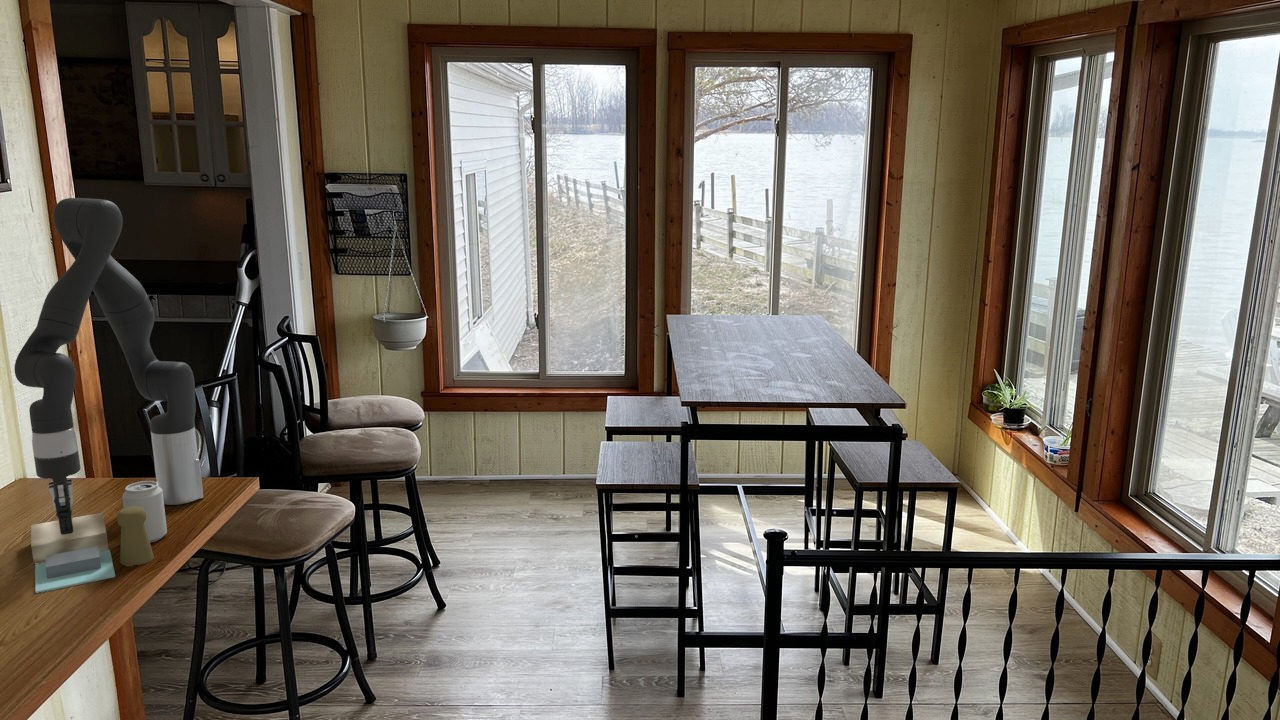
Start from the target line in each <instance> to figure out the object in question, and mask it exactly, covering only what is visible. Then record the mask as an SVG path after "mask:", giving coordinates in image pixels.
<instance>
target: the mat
mask: <svg viewBox="0 0 1280 720" xmlns="http://www.w3.org/2000/svg"><path fill="white" fill-rule="evenodd" d="M99 555H100V563H101V568H99V569H94V570H89V571H84V572H79V573H74V574H69V575H64V576H59V577H54V578H49V579H47V574H46V562H44V563H39V564H35V565H34V576H35V577H34V580H35V583H34V584H35V586H34V588H35V590H34V591H35V594H40V593H39V592H41V593H45V591H46V592H50V591H54V590H59V589H60V590H61V589H64V588H69V587H74V586H79V585H84V584H88V583H93V582H94V583H95V582H97V581H102V580H108V579H112V578H115V577H116V573H115V568H114V565H113V564H114V563H113V558H112V553H111V549H109V550H106V551H101V552H99ZM49 590H50V591H49Z"/></svg>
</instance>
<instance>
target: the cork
mask: <svg viewBox="0 0 1280 720" xmlns="http://www.w3.org/2000/svg"><path fill="white" fill-rule="evenodd" d="M146 517H147V515H146V511H145V510H144V509H143V508H142V507H138V506H134V507H128V508H124V507H123V508H122V509H120V510H119V512H118V513H117V515H116V520H117V523H118V525H119V526H120V551H119V554H120V555H119V559H120V560H119V563H121V564H124V565H129V566H128V567H134V566H133V565H138V566H142V565H145V564H148V563H149V562H152V561H153V560H154V558H155V557H154V554H153V553H154V552H153V550H152V549H153V548H152V546H151V543H150V542H149V538H148V534H147V531H146V527H145V524H144V522H145V520H146ZM121 564H120V565H121ZM131 565H132V566H131Z"/></svg>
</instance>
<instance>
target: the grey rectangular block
mask: <svg viewBox="0 0 1280 720" xmlns="http://www.w3.org/2000/svg"><path fill="white" fill-rule="evenodd" d="M45 557H46V574H47V579H49V578H54V577H59V576H64V575H69V574H74V573H79V572H84V571H89V570H94V569H99V568H101V563H100V555H99V548H98V546H96V547H91V548H85V549H80V550H75V551H70V552H64V553H59V554H54V555H48V556H45Z"/></svg>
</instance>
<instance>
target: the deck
mask: <svg viewBox="0 0 1280 720" xmlns="http://www.w3.org/2000/svg"><path fill="white" fill-rule="evenodd" d="M72 524H73V532H72V533H70V534H64V535H62V534H61V533H60V525H59V519H58V520H52V521H45V522H42V523H41V522H40V523H36V524H31V525H30V532H31V533H30V539H31V540H30V541H31V542H30V543H31V544H30V545H31V554H32V561H33V565H34V564H35V563H41V562H46V557H45V556H48V555H54V554H59V553H64V552H70V551H75V550H80V549H85V548H91V547H96V546H98V548H99V552H101V551H106V550H110V549H109V543H108V533H107V528H106V523H105V519H104V515H103V512H99V513H98V512H97V513H92V514H87V515H81V516H76V517H72Z"/></svg>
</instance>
